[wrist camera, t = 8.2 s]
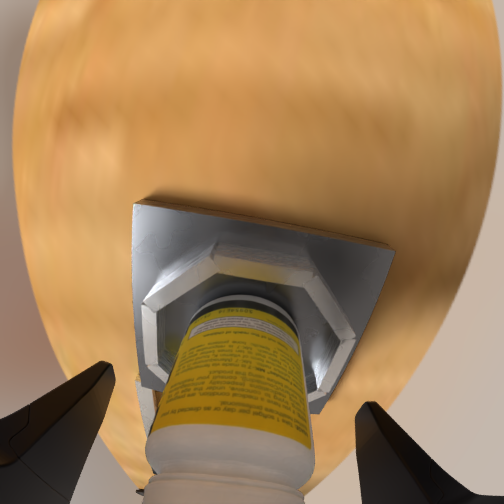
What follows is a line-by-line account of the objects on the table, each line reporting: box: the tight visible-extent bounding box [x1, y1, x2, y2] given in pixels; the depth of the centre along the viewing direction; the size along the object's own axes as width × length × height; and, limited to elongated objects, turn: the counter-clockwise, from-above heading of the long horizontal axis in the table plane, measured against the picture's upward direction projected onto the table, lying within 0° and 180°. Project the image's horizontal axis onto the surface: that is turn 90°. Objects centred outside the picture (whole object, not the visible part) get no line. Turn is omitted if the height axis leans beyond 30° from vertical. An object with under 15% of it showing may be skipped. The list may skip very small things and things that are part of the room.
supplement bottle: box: [142, 295, 315, 504], centre depth 8 cm, size 5×5×8 cm
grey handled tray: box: [132, 199, 396, 475], centre depth 13 cm, size 25×11×4 cm, turn 170°
